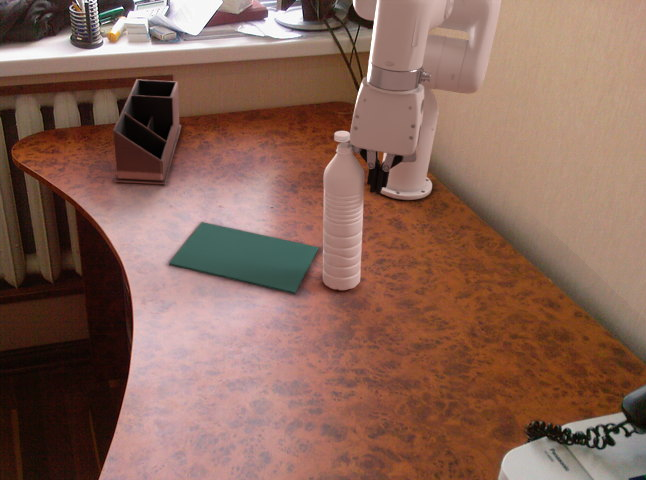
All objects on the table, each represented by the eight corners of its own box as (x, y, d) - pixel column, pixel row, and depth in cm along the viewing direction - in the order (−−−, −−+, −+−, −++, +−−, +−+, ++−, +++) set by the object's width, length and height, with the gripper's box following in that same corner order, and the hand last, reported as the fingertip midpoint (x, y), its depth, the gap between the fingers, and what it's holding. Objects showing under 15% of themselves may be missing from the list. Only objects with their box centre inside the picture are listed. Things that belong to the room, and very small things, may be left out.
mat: (202, 223, 141) (202, 221, 140) (318, 249, 135) (318, 247, 135) (169, 264, 129) (169, 262, 129) (295, 294, 124) (295, 292, 124)
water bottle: (362, 290, 125) (369, 152, 110) (324, 291, 125) (325, 154, 110) (356, 262, 132) (361, 129, 117) (320, 264, 132) (320, 131, 117)
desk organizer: (181, 126, 175) (180, 80, 169) (165, 185, 152) (163, 134, 145) (137, 124, 175) (134, 77, 168) (114, 182, 152) (109, 131, 145)
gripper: (449, 75, 107) (426, 188, 118) (348, 59, 110) (336, 171, 121) (442, 92, 101) (419, 209, 112) (336, 75, 104) (324, 191, 115)
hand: (376, 189), depth 117 cm, fingers closed
